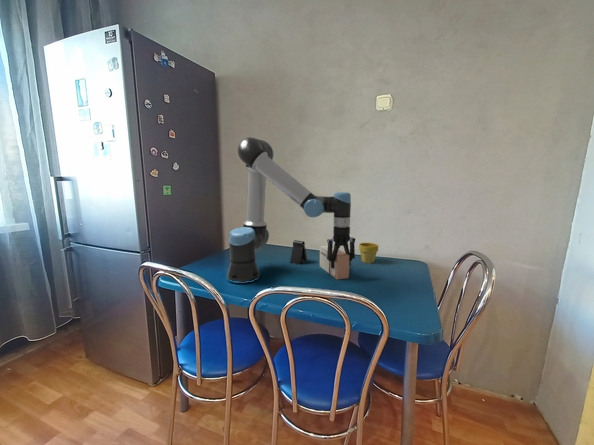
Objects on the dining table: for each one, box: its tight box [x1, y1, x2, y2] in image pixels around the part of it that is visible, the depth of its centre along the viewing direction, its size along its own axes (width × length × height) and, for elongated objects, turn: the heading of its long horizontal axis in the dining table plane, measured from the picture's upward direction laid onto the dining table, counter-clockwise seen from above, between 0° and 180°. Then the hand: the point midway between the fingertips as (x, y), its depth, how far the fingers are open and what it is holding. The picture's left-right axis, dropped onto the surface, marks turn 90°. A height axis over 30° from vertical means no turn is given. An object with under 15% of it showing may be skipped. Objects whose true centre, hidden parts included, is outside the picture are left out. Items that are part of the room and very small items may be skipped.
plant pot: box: [358, 242, 379, 264], centre depth 158 cm, size 10×10×10 cm
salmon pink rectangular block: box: [329, 250, 350, 280], centre depth 135 cm, size 6×8×11 cm
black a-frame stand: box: [289, 239, 308, 265], centre depth 158 cm, size 9×6×12 cm, turn 147°
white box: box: [319, 244, 341, 274], centre depth 145 cm, size 6×12×11 cm, turn 18°
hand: (340, 273), depth 134 cm, fingers closed on salmon pink rectangular block, 6 cm apart
